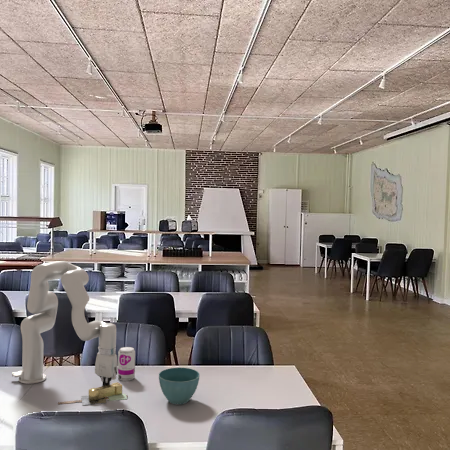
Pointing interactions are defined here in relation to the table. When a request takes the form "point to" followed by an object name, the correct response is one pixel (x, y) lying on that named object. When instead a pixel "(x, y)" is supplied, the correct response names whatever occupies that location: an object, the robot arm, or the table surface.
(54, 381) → the table surface
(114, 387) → the bar
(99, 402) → the lock base plate
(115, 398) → the keeper pad
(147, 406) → the table surface
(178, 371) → the teal round bowl
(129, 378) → the supplement can
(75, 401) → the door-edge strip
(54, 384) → the table surface
